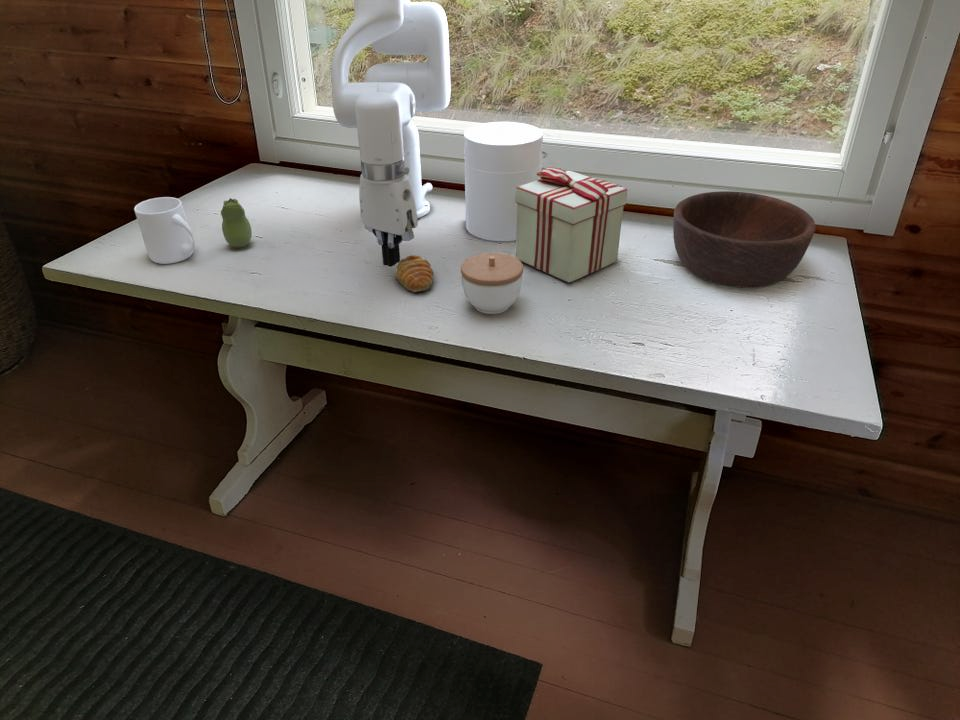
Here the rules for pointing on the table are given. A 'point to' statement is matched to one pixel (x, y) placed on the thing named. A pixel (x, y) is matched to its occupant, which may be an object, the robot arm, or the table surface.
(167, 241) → the mug
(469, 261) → the trinket box
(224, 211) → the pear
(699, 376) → the table surface
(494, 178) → the canister
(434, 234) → the table surface
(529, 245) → the gift box
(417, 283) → the pastry
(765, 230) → the wooden bowl
